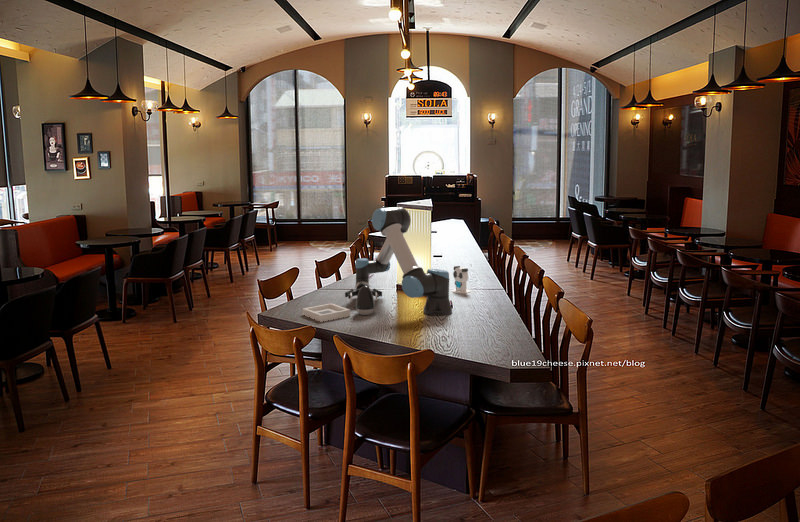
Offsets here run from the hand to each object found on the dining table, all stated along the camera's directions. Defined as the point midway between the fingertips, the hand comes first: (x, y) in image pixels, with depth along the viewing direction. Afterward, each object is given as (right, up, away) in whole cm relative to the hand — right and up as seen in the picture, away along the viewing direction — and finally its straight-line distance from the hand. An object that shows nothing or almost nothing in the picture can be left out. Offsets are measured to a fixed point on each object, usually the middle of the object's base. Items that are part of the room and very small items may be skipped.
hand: (364, 297), depth 337 cm
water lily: (-4, +4, +68) cm, 68 cm away
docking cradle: (-19, -9, -6) cm, 22 cm away
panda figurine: (+57, +1, +50) cm, 76 cm away
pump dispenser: (+1, -9, -2) cm, 9 cm away
